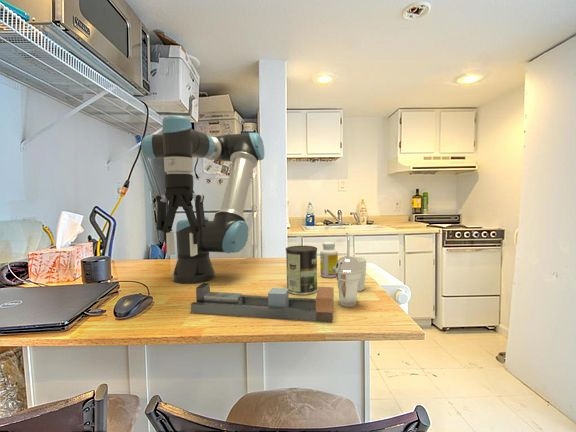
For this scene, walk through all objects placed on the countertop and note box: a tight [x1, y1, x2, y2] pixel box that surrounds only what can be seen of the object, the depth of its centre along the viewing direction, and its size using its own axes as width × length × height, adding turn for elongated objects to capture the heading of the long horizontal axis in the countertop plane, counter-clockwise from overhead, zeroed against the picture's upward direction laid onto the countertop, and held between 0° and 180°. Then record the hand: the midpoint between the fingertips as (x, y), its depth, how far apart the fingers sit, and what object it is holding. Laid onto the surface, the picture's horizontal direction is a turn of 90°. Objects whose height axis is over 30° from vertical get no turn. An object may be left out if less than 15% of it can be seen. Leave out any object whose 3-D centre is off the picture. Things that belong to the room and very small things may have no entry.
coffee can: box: [285, 245, 318, 296], centre depth 98 cm, size 10×10×14 cm
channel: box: [190, 286, 335, 323], centre depth 81 cm, size 38×9×6 cm, turn 79°
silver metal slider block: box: [195, 282, 243, 305], centre depth 84 cm, size 12×4×6 cm, turn 79°
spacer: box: [267, 287, 290, 308], centre depth 80 cm, size 5×5×6 cm
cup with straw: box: [333, 232, 363, 308], centre depth 85 cm, size 8×9×20 cm
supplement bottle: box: [319, 241, 339, 279], centre depth 114 cm, size 7×7×13 cm
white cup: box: [352, 256, 367, 292], centre depth 99 cm, size 8×8×10 cm
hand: (182, 254), depth 85 cm, fingers open, 6 cm apart
